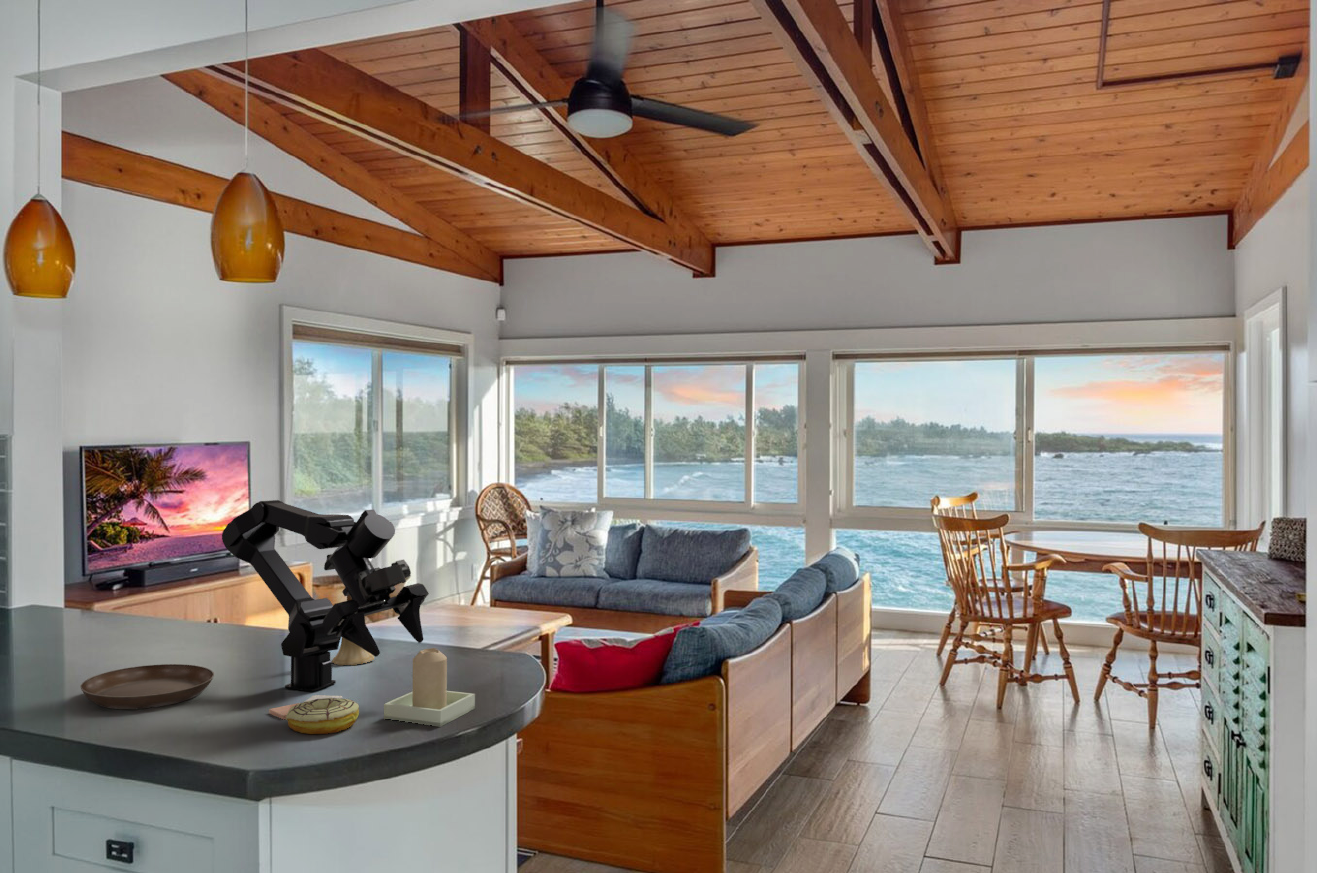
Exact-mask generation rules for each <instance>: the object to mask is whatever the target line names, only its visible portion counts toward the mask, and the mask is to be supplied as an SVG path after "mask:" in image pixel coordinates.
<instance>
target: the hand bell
mask: <svg viewBox="0 0 1317 873" xmlns="http://www.w3.org/2000/svg"><path fill="white" fill-rule="evenodd" d="M348 600H352V598H351V597H350V595H348V596H346V601H348ZM374 658H375V656H374V655H372V654H370V653H369V652H367V651H366V650H364V649H363V648H361V647H359V646H358V645H356V644H354V643H352V642H350V641H349V640H347V639H345V638H343V637H341V639H340V645H339V648H338V652H337V653H336V655H335V657H333V658H332V660H331V661H332V664H333V663H334V665H336V664H337V665H336V666H343V665H351V666H358V665H357V664H361V665H364V664H363V663H366V664H368V663H367V662H370V661H372V660H374ZM374 661H375V660H374ZM372 662H373V661H372ZM370 663H371V662H370Z"/></svg>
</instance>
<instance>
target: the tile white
mask: <svg viewBox="0 0 1317 873" xmlns="http://www.w3.org/2000/svg"><path fill="white" fill-rule="evenodd" d="M323 698H341V699H343V696H342V695H324V694H323V695H319V694H317V695H316V694H314V695H311V697H309V698H306V700H305V701H303V702H307V701H311V700H315V699H323Z"/></svg>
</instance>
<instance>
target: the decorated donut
mask: <svg viewBox="0 0 1317 873" xmlns="http://www.w3.org/2000/svg"><path fill="white" fill-rule="evenodd" d="M298 703H299V702H298ZM296 704H297V703H296ZM359 709H360V706H359V703H357V702H356V701H354V700H351V699H349V698H342V699H341V698H323V699H315V700H311V701H307V702H304V701H302V702H300V703H299V704H297V705H295V706H293V707H291V708H290V709H289V711H288V713H287V716H286V719H285V720H286V721H287V724H288V727H289V728H290V729H292V730H293V731H294V732H299V733H300V734H308V735H326V734H327V735H328V733H329V734H335V733H338V732H339V731H340V732H341V730H342V731H346V730H348V729H350V728H351V727H352V726H353V725H354V724H355V723H356V722H357V719H358V717H359V714H360V710H359ZM349 727H350V728H349ZM347 728H348V729H347Z"/></svg>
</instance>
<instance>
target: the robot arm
mask: <svg viewBox="0 0 1317 873" xmlns="http://www.w3.org/2000/svg"><path fill="white" fill-rule="evenodd" d="M280 528H281V529H284V530H287V531H289V532H293V533H295V534H299V535H301V536H303V537H304V539H305V541H306V543H308V544H309V545H311V546H313V547H314V548H316V549H317V550H327V549H335V548H336V549H335V550H334V552H333V553H330V554H327V555H326V561H325V562H324V565H323V566H324V567H323V569H324V571H332V570H335V572H336V574H337V575H338V577H339V579H340V581H341V583H342V584H343V586H344V589H343V590H342V591H341V592H342V594H343V596H344V597H347V596H348V595H350V597H351V598H352V600H348V601H347V600H345V601H339V602H336V603H333V604H332V602H331V600H330V599H329V598H328V597H322V598H317V599H314V597H312V595H311V594H310V593H309V592H308V591H307V589H306V588H305V586H304V585H303V584H302V583H301V582H300V580H299V579H298V577H297V576H296V575H295V573H294V572H293V571H292V570H291V568H290V567H289V566H288V565H287V563H286V562H285V561H284V559H283V558H282V557H281V555H280V554H279V553H278V551H277V550H276V548H275V546H276V545H275V544H276V535H277V533H279V531H280ZM395 534H396V528H395V526H394V524H393V522H392V521H390V520H388V519H387V517H385V516H383V515H380V514H377V511H376V510H375V509H365V510H363V511H362V513H361V514H360V517H359V518H358V520H357V521H355V519H354V518H353V517H352V516H351V515H349V514H341V513H340V514H339V513H338V514H336V513H335V514H332V513H331V514H326V513H325V514H321V513H317V512H313V511H309V510H307V509H304V508H300V507H297V506H294V505H291V504H287V503H285V502H283V501H282V500H281V501H280V500H278V499H274V500H260V501H258V502H256V503H255V504H253V505H252V507H251V508H249V509H248V510H246V511H245V512H243V513H241V514H239V515H238V516H236V517H234V518H233V519H232V520H231V521H230V522H229V523H228V524H227V525H226V526H225V528H224V529H223V531H222V532H221V541H222V543H223V545H224V547H225V549H226V550H227V551H228V552H230V554H231V555H233V556H234V558H236V559H239V560H241V561H243V562H245V563H246V564H247V563H248V564H249V565H251V566H252V568H253V569H254V571H256V573H257V574H258V576H259V577H260V578H261V580H262V581H263V582H264V584H265V585H266V586H267V588H268V589H269V591H271V593H272V595H273V596H274V597H275V599H276V600H277V601H278V603H279V604H280V605H281V607H282V608H283V609H284V610H285V613H286V614H287V615H288V625H287V628H288V629H287V630H288V631H289V633H288V634H287V635H286V637H285V638H284V639H283V641H282V642H281V644H280V647H281V651H282V654H283V656H286V657H290V683H288V684H285V685H284V689H288V690H297V691H305V692H316V691H319V690H321V689H324V688H327V687H329V686H330V687H331V686H332V685H334V684H336V682H337V681H336V680H334V679H333V663H332V660H331V652H332V651H337V650H339V647H340V644H341V640H342V637H343V638H345V639H347V640H349V641H350V642H352V643H354V644H356V645H358V646H359V647H361V648H363V649H364V650H366V651H367V652H369V653H370V654H372V655H373V656H374V658H376V657H379V656H380V654H381V651H380V649H379V646H378V644H377V643H376V640H375V638H374V637H373V636H372V635H373V634H371V632H370V630H369V628H368V626H367V625H366V618H365V617H366V616H370V615H374V614H377V613H380V612H384V611H385V612H386V611H388V610H392V609H393V611H394V613H395V614H397V615H399V616H398V617H397V620H398V621H399V622H400V624H401V625H403V627H404V628H405V629H406V631H407V632H408V633H409V634H410V636H412V638H413V639H414V640H415V641H416V642H417V643H418V644H421V643H422V642H423V641H424V636H423V634H424V633H423V628H422V622H421V613H420V610H421V606H422V604H423V603H425V602H424V601H425V599H426V598H427V597H428V596H429V595H430V594H429V591H428V590H427V588H426V587H425V585H424V584H423V583H419V582H418V583H414V584H410V585H405V586H403V587H402V588H401V590H399V592H398V593H397V595H396V596H392V597H391V594H393V593H394V592H395V590H396V587H395V586H397V585H399V584H404V583H406V582H407V578H409V577H410V576H411V574H412V572H411V569H410V566H409V564H408V563H407V562H406V561H405V559H399V560H395V561H394V562H392V563H391V565H390V566H386V567H381V568H380V567H374V566H373V564H372V562H371V561H370V560H371V559H374V558H376V557H377V556H379V554H380V553H381V551H383V550H384V549H385V547H386V546H387V545H388V544H389V543H390V541H391V540H392V539H393V538H394V536H395Z"/></svg>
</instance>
